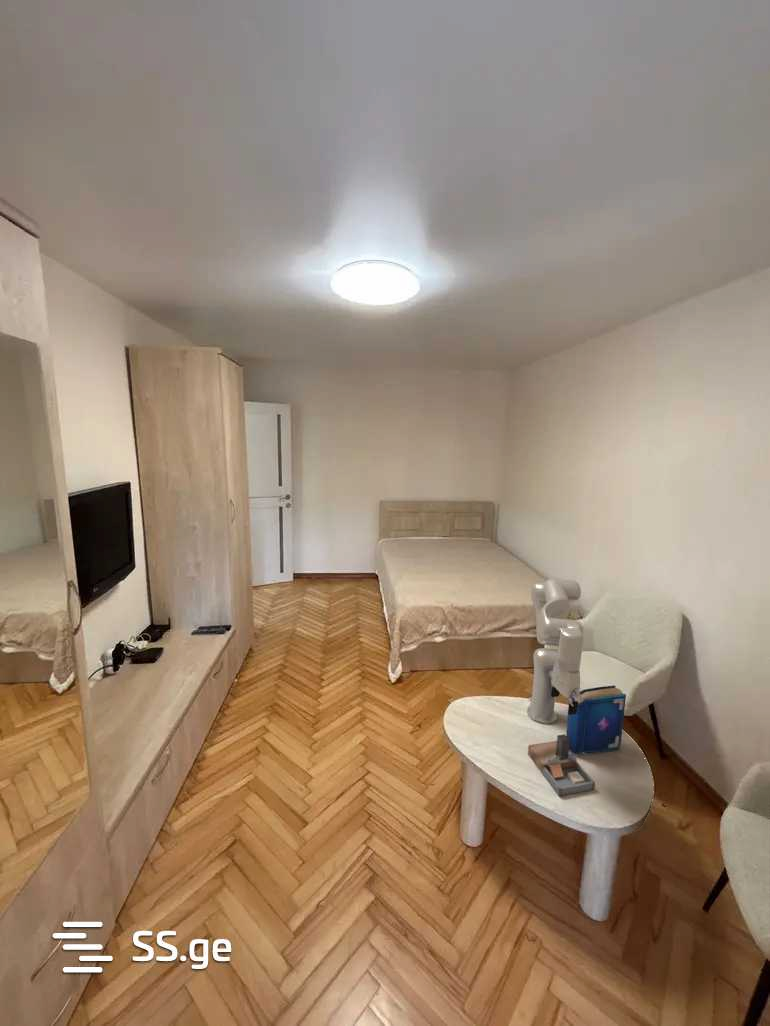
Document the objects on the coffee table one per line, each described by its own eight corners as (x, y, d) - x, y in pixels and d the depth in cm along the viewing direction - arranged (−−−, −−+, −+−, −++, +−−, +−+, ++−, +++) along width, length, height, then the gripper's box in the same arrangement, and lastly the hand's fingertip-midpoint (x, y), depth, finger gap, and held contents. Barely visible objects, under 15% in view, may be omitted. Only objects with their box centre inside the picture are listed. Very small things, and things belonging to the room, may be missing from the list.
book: (572, 758, 163) (579, 700, 159) (561, 745, 170) (567, 689, 166) (620, 750, 168) (628, 694, 163) (608, 738, 174) (615, 683, 170)
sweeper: (544, 761, 156) (546, 737, 154) (572, 756, 158) (575, 732, 157) (548, 767, 153) (551, 742, 151) (577, 762, 156) (580, 738, 154)
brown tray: (527, 754, 165) (528, 745, 164) (559, 749, 168) (560, 740, 167) (542, 774, 155) (543, 764, 155) (575, 768, 158) (576, 759, 158)
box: (542, 774, 155) (543, 767, 155) (575, 768, 158) (576, 761, 158) (559, 796, 146) (559, 789, 145) (594, 789, 149) (595, 782, 148)
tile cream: (574, 781, 150) (574, 785, 150) (584, 779, 151) (584, 783, 151) (567, 772, 154) (567, 776, 154) (577, 771, 154) (576, 774, 155)
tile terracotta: (548, 765, 155) (550, 765, 154) (557, 763, 156) (560, 763, 155) (551, 777, 153) (553, 778, 152) (561, 776, 154) (563, 776, 153)
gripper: (544, 651, 157) (540, 691, 160) (575, 678, 140) (569, 722, 144) (562, 648, 158) (557, 688, 162) (594, 675, 142) (588, 719, 146)
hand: (563, 704), depth 153 cm, fingers open, 9 cm apart
